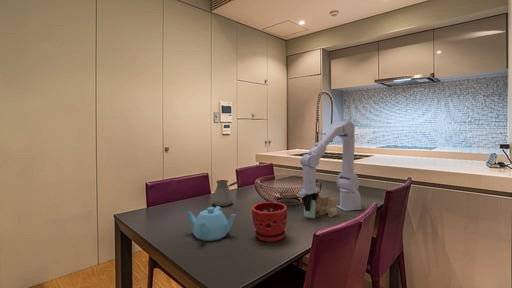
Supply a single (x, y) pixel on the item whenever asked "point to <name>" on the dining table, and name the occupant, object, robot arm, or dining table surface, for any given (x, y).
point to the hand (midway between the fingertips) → (309, 209)
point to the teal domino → (312, 210)
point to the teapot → (210, 224)
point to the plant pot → (269, 221)
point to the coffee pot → (223, 193)
